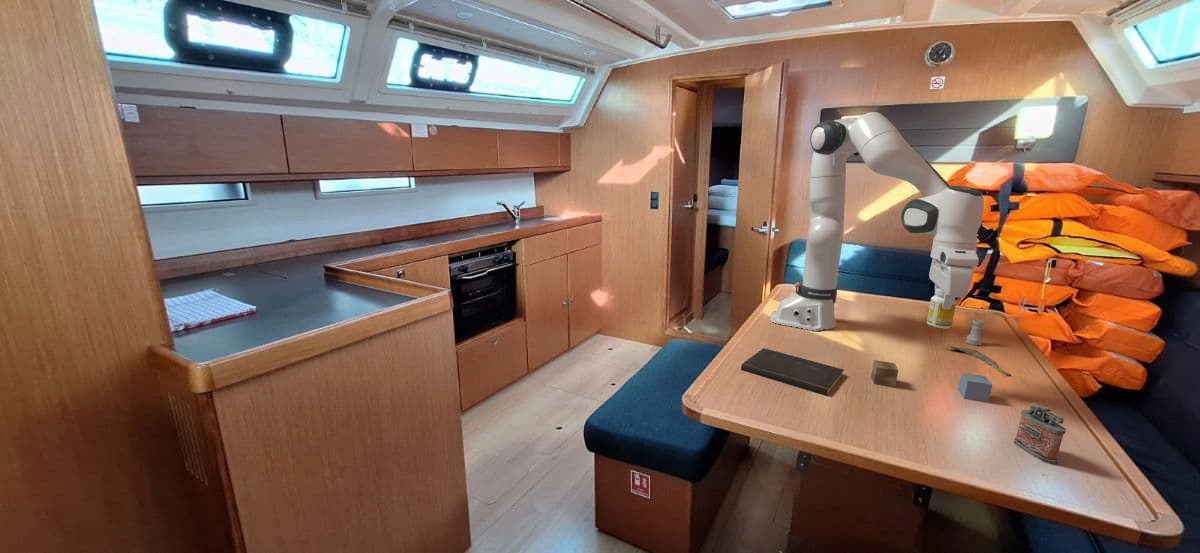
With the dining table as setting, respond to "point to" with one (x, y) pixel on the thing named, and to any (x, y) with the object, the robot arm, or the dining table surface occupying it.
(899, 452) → the dining table surface
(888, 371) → the walnut block
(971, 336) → the rook chess piece
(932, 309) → the supplement bottle
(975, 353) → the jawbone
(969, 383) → the slate-blue block
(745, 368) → the hardcover book
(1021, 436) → the lighter
